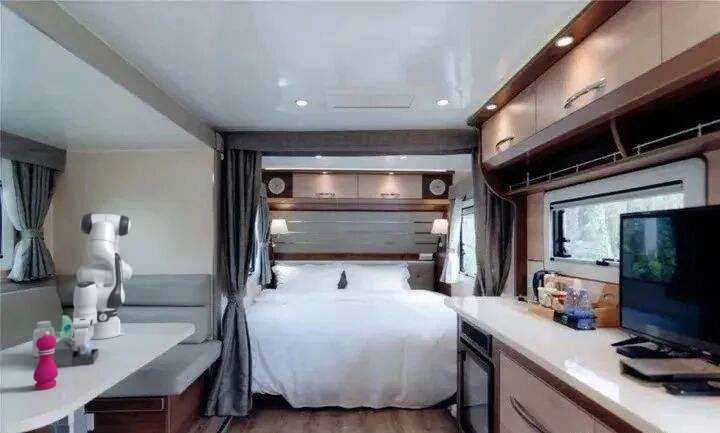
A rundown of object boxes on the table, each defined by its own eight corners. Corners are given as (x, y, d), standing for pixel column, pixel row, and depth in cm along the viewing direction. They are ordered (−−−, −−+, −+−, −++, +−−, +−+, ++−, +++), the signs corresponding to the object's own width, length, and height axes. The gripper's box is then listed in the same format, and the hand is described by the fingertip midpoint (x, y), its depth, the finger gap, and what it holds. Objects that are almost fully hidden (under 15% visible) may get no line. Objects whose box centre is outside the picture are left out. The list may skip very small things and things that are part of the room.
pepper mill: (41, 384, 161) (42, 329, 161) (62, 383, 161) (63, 328, 162) (28, 391, 154) (29, 333, 154) (49, 390, 154) (50, 333, 155)
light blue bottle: (79, 357, 190) (79, 336, 190) (92, 355, 192) (92, 335, 192) (76, 360, 186) (76, 338, 186) (90, 358, 187) (90, 337, 188)
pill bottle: (42, 358, 194) (43, 324, 195) (27, 357, 196) (28, 323, 196) (58, 353, 202) (58, 320, 202) (43, 352, 204) (44, 319, 204)
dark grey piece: (56, 360, 190) (57, 337, 190) (98, 356, 196) (98, 334, 196) (48, 368, 178) (48, 344, 179) (93, 364, 184) (93, 340, 185)
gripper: (81, 315, 198) (81, 346, 197) (71, 325, 179) (70, 359, 178) (97, 314, 200) (97, 345, 200) (89, 323, 181) (88, 357, 181)
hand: (84, 351), depth 189 cm, fingers closed on light blue bottle, 5 cm apart
